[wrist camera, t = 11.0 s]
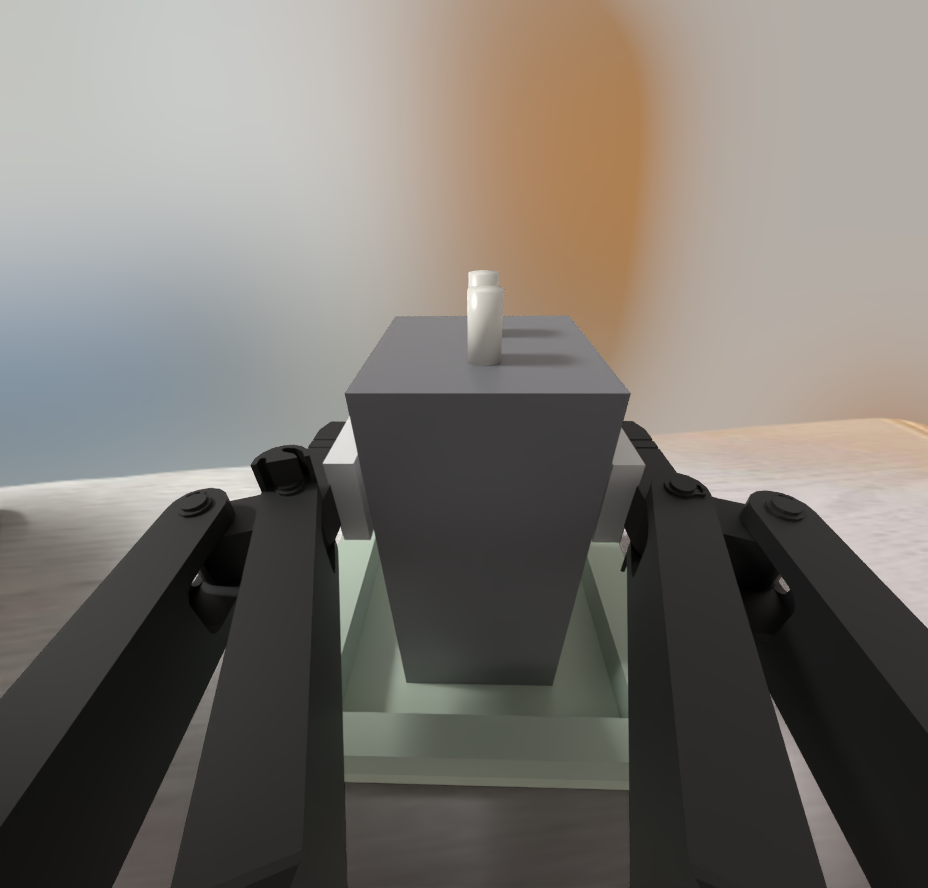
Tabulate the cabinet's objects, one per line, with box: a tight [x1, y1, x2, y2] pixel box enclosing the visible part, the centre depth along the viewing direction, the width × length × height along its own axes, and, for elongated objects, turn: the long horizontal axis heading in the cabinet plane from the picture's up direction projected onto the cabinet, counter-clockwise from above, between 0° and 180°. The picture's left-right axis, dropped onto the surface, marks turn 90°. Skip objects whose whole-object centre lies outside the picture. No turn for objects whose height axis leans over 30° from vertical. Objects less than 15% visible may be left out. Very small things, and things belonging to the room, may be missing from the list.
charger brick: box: [345, 270, 631, 686], centre depth 11 cm, size 5×5×12 cm
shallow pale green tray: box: [338, 530, 629, 790], centre depth 15 cm, size 12×10×2 cm
